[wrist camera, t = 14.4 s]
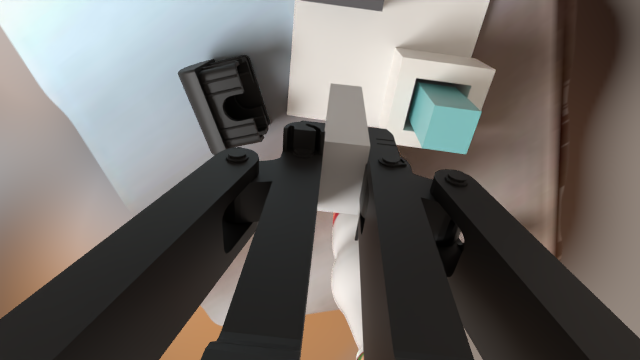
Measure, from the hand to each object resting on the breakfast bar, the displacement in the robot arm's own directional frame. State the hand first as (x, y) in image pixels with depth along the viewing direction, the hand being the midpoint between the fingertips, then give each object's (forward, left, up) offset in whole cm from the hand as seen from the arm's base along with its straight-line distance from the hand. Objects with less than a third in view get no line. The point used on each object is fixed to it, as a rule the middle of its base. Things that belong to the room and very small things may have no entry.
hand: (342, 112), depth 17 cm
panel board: (-2, +4, -25) cm, 26 cm away
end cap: (+8, -13, -26) cm, 30 cm away
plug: (+4, +10, -24) cm, 27 cm away
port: (+4, +10, -24) cm, 27 cm away
